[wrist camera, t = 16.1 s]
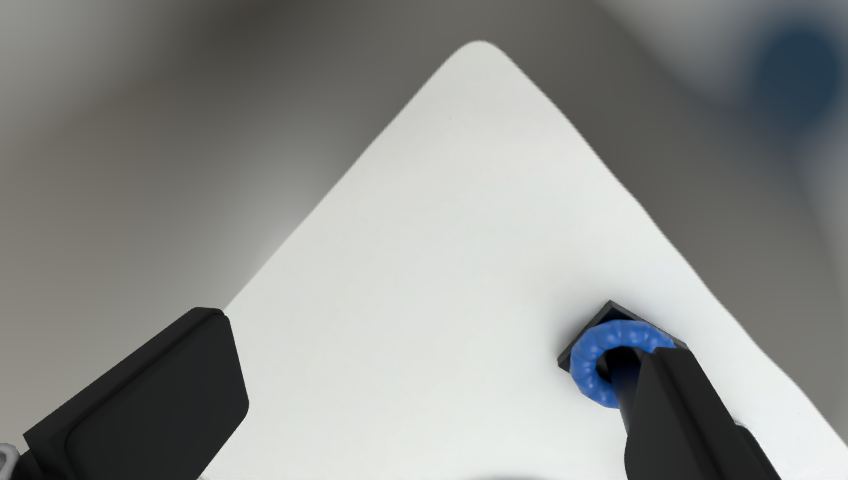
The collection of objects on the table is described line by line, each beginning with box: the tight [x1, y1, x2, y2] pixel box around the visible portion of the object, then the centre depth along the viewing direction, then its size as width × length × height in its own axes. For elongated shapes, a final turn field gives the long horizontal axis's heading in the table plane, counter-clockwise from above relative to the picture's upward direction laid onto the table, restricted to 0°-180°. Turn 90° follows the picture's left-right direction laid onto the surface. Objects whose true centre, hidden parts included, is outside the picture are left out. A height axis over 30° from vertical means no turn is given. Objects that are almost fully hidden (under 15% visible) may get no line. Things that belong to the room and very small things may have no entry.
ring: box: [569, 319, 676, 409], centre depth 38 cm, size 9×9×2 cm
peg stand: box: [557, 300, 689, 436], centre depth 35 cm, size 8×8×11 cm
